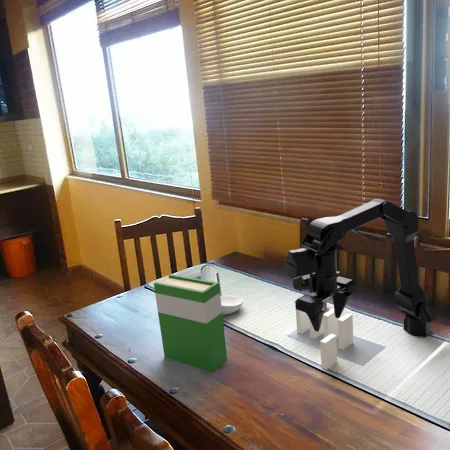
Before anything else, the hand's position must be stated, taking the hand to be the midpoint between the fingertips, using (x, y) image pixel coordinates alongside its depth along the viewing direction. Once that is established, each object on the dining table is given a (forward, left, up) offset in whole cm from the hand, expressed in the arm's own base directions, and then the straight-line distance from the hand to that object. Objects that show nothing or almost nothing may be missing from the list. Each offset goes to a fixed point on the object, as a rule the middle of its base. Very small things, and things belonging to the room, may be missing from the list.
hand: (327, 324), depth 122 cm
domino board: (+6, -11, -13) cm, 18 cm away
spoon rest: (+48, -2, -13) cm, 50 cm away
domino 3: (+7, -11, -12) cm, 18 cm away
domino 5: (+2, -11, -12) cm, 16 cm away
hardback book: (+33, +20, -13) cm, 41 cm away
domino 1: (+17, -11, -12) cm, 23 cm away
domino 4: (0, 0, -13) cm, 13 cm away
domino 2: (+12, -11, -12) cm, 20 cm away
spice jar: (+22, -26, -13) cm, 36 cm away
